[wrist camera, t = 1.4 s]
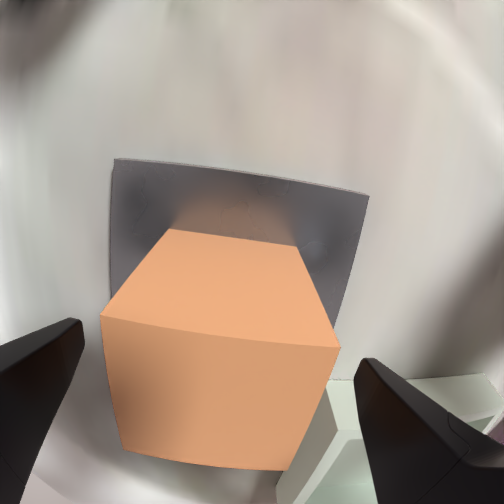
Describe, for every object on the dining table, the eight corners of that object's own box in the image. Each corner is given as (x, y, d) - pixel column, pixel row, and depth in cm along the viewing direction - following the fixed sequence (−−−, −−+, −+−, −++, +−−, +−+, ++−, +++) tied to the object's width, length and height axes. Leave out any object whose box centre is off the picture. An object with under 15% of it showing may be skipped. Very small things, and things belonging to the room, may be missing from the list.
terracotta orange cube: (296, 246, 12) (340, 347, 6) (273, 349, 14) (287, 470, 8) (168, 228, 12) (100, 314, 6) (163, 335, 14) (123, 449, 7)
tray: (482, 372, 16) (507, 404, 13) (408, 473, 20) (419, 502, 17) (323, 379, 15) (338, 430, 12) (275, 486, 20) (278, 523, 16)
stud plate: (364, 193, 12) (435, 230, 7) (309, 383, 15) (328, 467, 10) (120, 158, 12) (41, 173, 6) (121, 358, 15) (83, 435, 10)
